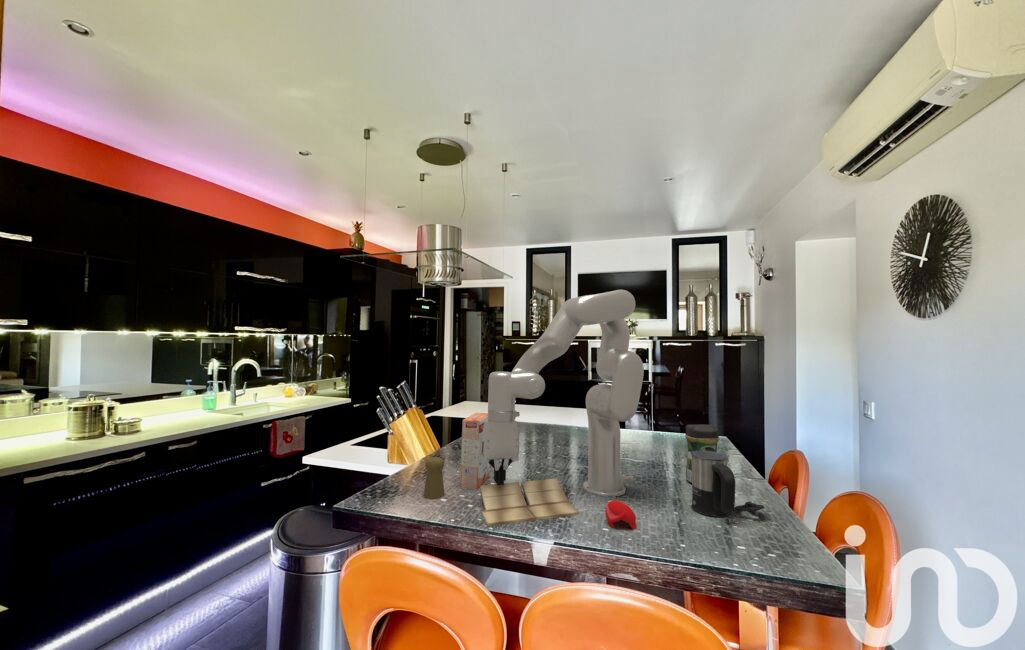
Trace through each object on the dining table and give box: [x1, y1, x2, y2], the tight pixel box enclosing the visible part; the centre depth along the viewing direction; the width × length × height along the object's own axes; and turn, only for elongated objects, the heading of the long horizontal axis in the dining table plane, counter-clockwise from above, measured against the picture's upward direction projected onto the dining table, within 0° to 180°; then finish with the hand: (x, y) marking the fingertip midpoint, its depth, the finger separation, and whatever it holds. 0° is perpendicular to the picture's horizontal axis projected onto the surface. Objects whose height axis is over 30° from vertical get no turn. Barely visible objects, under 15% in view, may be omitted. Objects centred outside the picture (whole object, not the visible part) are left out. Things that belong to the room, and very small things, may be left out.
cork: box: [423, 456, 445, 500], centre depth 114 cm, size 6×6×11 cm
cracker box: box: [459, 412, 491, 491], centre depth 126 cm, size 14×6×21 cm, turn 168°
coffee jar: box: [684, 423, 720, 484], centre depth 129 cm, size 10×8×19 cm
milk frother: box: [690, 451, 765, 518], centre depth 107 cm, size 14×16×15 cm
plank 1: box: [479, 481, 528, 511], centre depth 108 cm, size 11×8×1 cm
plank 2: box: [520, 477, 569, 506], centre depth 112 cm, size 11×8×1 cm
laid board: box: [480, 500, 580, 527], centre depth 102 cm, size 24×7×1 cm, turn 108°
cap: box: [604, 499, 638, 531], centre depth 97 cm, size 8×6×6 cm
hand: (499, 483), depth 111 cm, fingers closed
